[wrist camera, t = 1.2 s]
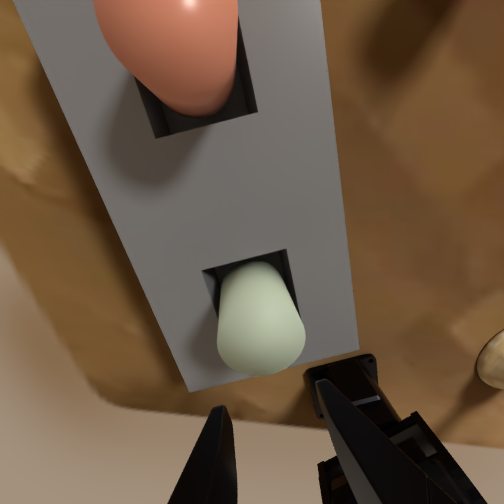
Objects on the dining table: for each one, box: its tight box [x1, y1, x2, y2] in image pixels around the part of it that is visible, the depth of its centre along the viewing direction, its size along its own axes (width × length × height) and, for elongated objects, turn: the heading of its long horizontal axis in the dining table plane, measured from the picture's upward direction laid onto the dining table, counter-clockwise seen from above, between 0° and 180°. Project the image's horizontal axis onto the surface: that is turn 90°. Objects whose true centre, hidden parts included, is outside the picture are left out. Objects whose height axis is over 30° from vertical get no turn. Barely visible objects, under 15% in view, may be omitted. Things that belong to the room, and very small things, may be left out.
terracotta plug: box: [93, 0, 238, 119], centre depth 9 cm, size 4×4×5 cm
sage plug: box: [217, 260, 306, 376], centre depth 13 cm, size 4×4×5 cm
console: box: [13, 0, 360, 393], centre depth 15 cm, size 24×12×5 cm, turn 14°
